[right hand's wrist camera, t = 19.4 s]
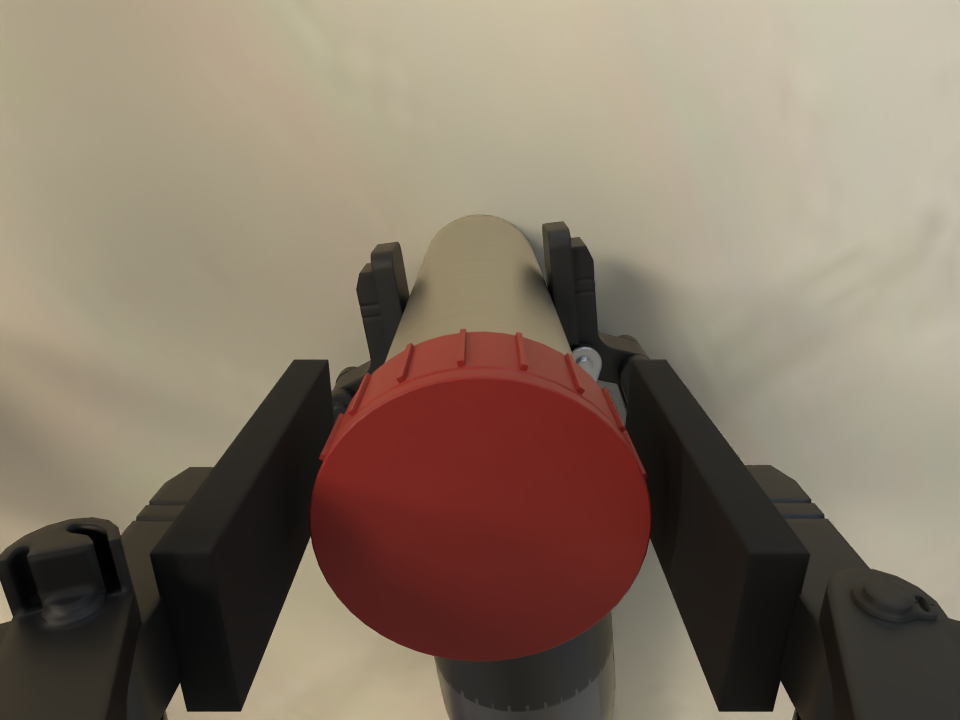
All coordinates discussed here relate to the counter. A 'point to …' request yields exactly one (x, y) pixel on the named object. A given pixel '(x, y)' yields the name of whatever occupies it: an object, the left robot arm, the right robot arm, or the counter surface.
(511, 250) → the jar
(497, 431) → the lid
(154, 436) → the counter surface
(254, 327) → the counter surface
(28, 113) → the counter surface
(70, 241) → the counter surface
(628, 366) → the left robot arm
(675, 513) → the right robot arm
